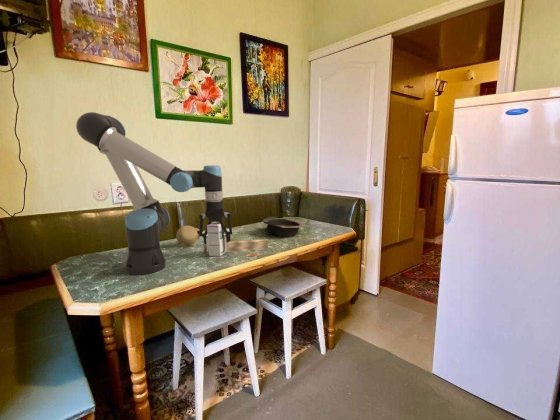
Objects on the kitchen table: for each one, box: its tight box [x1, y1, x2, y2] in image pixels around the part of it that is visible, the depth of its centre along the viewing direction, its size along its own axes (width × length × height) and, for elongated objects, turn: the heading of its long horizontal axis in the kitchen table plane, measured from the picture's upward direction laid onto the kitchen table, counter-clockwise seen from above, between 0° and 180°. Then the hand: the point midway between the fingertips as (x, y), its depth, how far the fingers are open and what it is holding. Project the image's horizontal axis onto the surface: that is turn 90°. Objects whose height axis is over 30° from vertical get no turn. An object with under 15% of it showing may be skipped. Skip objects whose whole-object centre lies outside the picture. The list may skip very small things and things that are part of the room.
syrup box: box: [206, 221, 226, 257], centre depth 138 cm, size 6×6×14 cm
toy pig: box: [175, 225, 202, 247], centre depth 152 cm, size 10×12×11 cm
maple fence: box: [203, 238, 269, 260], centre depth 140 cm, size 30×12×4 cm, turn 100°
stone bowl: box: [261, 215, 306, 238], centre depth 174 cm, size 25×25×9 cm
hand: (216, 250), depth 139 cm, fingers closed on syrup box, 7 cm apart
